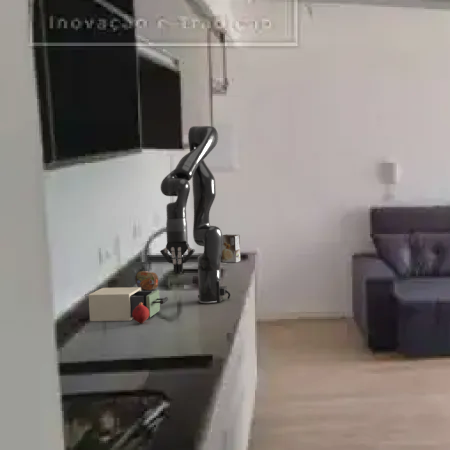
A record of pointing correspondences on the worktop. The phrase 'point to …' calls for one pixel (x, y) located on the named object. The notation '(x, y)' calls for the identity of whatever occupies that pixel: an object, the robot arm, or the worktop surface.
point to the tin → (147, 280)
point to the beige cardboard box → (111, 304)
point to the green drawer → (147, 301)
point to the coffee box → (231, 248)
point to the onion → (140, 313)
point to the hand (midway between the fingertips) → (178, 273)
